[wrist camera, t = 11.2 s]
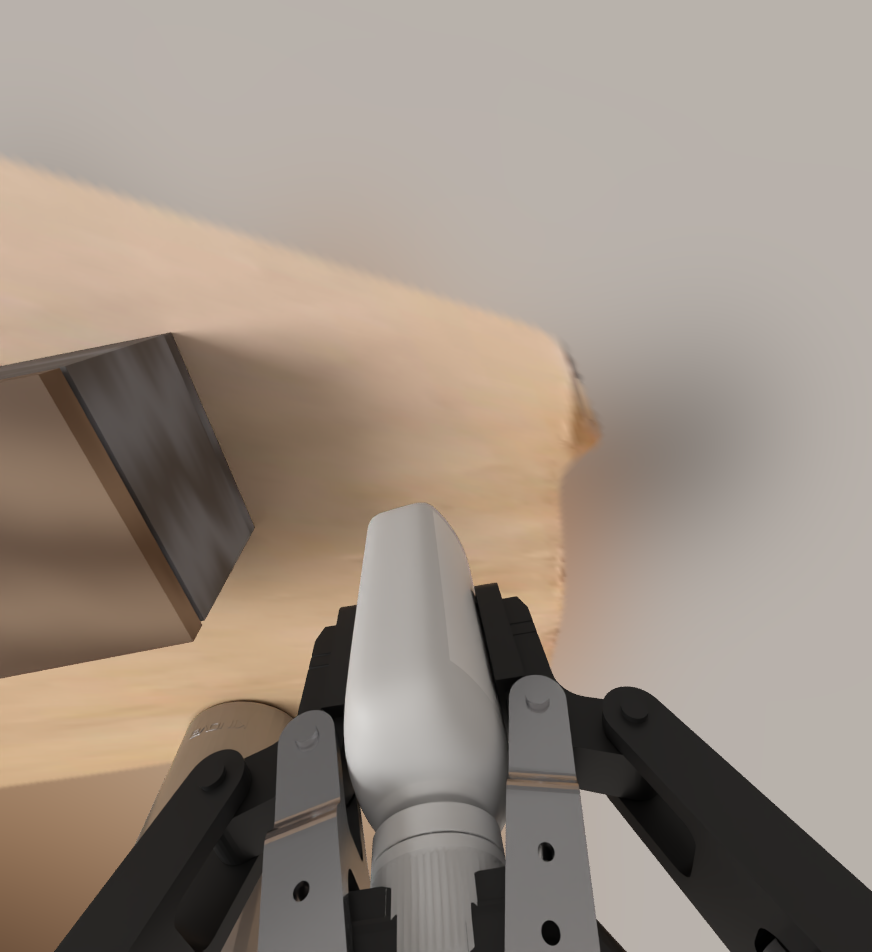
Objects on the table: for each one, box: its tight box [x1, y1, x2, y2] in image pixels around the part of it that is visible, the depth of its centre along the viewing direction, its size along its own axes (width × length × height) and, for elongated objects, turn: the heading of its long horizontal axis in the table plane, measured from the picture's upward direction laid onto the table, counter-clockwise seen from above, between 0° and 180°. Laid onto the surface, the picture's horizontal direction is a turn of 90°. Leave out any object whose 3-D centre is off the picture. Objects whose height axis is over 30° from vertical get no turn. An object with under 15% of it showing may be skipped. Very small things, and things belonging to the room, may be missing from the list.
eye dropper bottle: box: [344, 503, 509, 952], centre depth 11 cm, size 4×6×12 cm
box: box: [0, 333, 255, 621], centre depth 22 cm, size 12×13×8 cm
